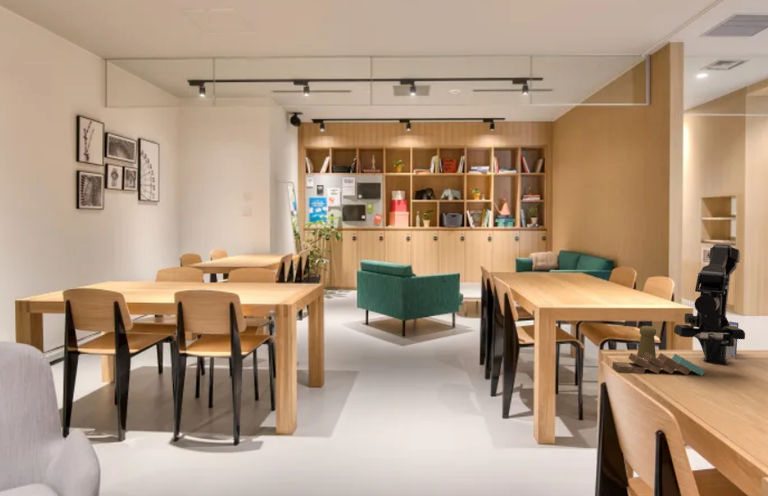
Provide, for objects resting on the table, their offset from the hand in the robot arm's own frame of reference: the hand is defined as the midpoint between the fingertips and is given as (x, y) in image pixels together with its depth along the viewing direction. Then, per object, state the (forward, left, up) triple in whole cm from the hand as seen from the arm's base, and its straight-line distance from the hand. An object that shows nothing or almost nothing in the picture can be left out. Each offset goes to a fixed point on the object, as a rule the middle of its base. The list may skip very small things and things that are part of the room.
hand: (707, 358), depth 165 cm
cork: (-9, -19, -5) cm, 21 cm away
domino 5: (+1, -2, -4) cm, 5 cm away
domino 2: (+8, -13, -4) cm, 16 cm away
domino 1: (+10, -17, -4) cm, 20 cm away
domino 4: (+3, -6, -4) cm, 8 cm away
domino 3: (+6, -10, -4) cm, 12 cm away
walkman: (-31, +5, -5) cm, 31 cm away
